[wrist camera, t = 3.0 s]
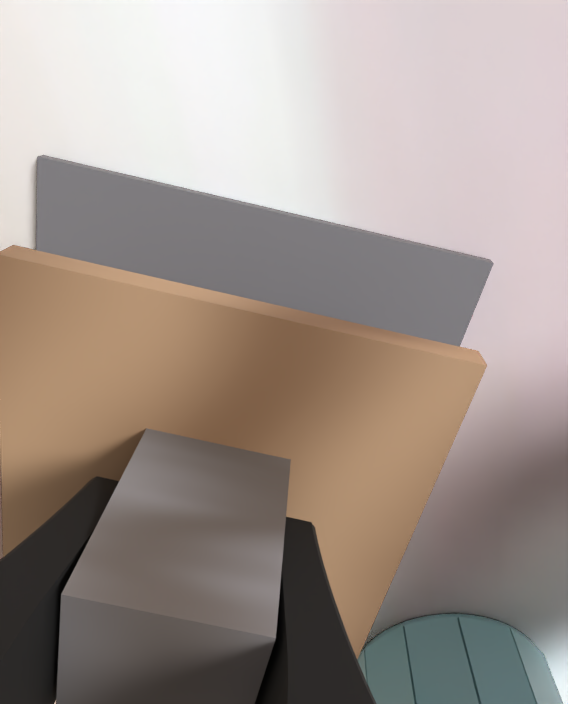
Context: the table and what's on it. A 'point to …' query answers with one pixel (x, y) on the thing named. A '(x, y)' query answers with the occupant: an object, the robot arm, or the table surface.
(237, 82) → the table surface
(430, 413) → the cover
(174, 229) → the mat
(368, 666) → the bowl
